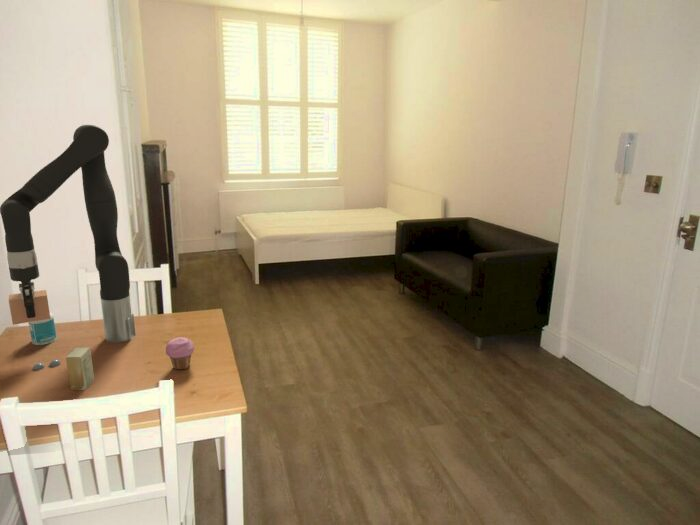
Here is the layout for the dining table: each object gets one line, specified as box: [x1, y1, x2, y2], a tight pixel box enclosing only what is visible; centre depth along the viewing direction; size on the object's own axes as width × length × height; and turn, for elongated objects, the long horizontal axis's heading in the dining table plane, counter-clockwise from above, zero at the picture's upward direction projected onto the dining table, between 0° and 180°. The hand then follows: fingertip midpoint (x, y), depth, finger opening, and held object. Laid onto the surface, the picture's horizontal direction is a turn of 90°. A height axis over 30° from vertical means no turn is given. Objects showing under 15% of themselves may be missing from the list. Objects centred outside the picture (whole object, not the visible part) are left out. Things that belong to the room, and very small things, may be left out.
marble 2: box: [49, 359, 61, 368], centre depth 150 cm, size 3×3×3 cm
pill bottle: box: [28, 312, 57, 346], centre depth 165 cm, size 8×7×14 cm
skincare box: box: [65, 347, 95, 391], centre depth 138 cm, size 6×4×12 cm
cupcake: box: [165, 336, 195, 370], centre depth 153 cm, size 9×9×10 cm
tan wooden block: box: [8, 289, 51, 326], centre depth 151 cm, size 10×6×8 cm, turn 124°
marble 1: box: [32, 362, 45, 371], centre depth 148 cm, size 3×3×3 cm
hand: (31, 313), depth 152 cm, fingers closed on tan wooden block, 6 cm apart
